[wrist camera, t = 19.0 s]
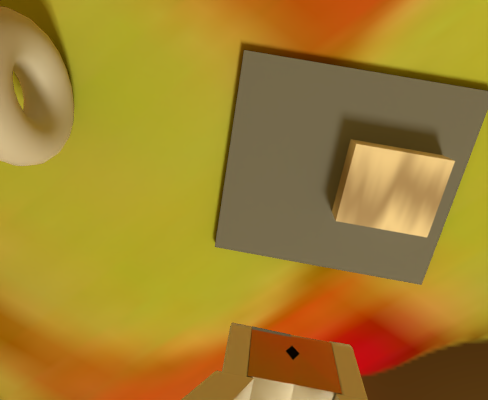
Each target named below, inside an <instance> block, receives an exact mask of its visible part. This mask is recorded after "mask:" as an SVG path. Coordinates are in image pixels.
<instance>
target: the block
mask: <svg viewBox="0 0 488 400" xmlns="http://www.w3.org/2000/svg"><path fill="white" fill-rule="evenodd" d="M454 163H455V161H454V160H452V159H450V158H448V157H445V156H443V155H438V154H433V153H427V152H421V151H415V150H410V149H404V148H398V147H392V146H387V145H381V144H375V143H369V142H364V141H358V140H352V139H351V140H350V144H349V148H348V151H347V155H346V159H345V163H344V167H343V171H342V175H341V178H340V182H339V186H338V190H337V194H336V198H335V201H334V205H333V209H332V214H333V216H334V218H335V221H338V222H344V223H349V224H355V225H360V226H366V227H372V228H377V229H383V230H388V231H394V232H399V233H405V234H410V235H416V236H422V237H428V234H429V231H430V228H431V226H432V223H433V220H434V218H435V215H436V212H437V209H438V207H439V204H440V201H441V198H442V196H443V193H444V190H445V187H446V185H447V182H448V179H449V176H450V174H451V171H452V168H453V165H454Z"/></svg>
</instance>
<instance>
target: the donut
mask: <svg viewBox="0 0 488 400" xmlns="http://www.w3.org/2000/svg"><path fill="white" fill-rule="evenodd" d="M13 70H14V72H15V74H16V76H17V78H18V79H19V82H20V85H21V88H22V91H23V98H24V108H23V110H22V108H21V106H20V105H19V103H18V100H17V97H16V94H15V92H14V86H13V79H12V75H13ZM73 118H74V100H73V92H72V86H71V82H70V79H69V75H68V72H67V69H66V66H65V64H64V62H63V60H62V57H61V55H60V53H59V51H58V50H57V48H56V47H55V45H54V44H53V42H52V41H51V39H50V38H49V36H48V35H47V34H46V33H45V32H44V31H43V30H42V29H41V28H40V27H38V26H37V25H36V24H35V23H34V22H33V21H32V20H31V19H30V18H28V17H26V16H24V15H22V14H20V13H18V12H16V11H14V10H12V9H10V8H7V7H1V6H0V161H3V162H6V163H9V164H12V165H17V166H27V165H36V164H41V163H44V162H46V161H47V160H49V159H50V158H52V157H53V156H55V155H56V154H58V153H59V152H60V151H61V149H62V148H63V146H64V144H65V143H66V141H67V140H68V138H69V136H70V133H71V129H72V125H73Z"/></svg>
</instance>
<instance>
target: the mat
mask: <svg viewBox="0 0 488 400" xmlns="http://www.w3.org/2000/svg"><path fill="white" fill-rule="evenodd" d="M487 110H488V91H485V90H479V89H473V88H467V87H461V86H455V85H449V84H443V83H437V82H431V81H425V80H419V79H413V78H408V77H402V76H396V75H390V74H384V73H378V72H372V71H366V70H360V69H354V68H348V67H342V66H336V65H330V64H325V63H319V62H313V61H307V60H301V59H295V58H289V57H283V56H277V55H271V54H265V53H259V52H253V51H247V50H244V54H243V61H242V68H241V74H240V81H239V88H238V95H237V101H236V108H235V115H234V122H233V128H232V135H231V142H230V149H229V155H228V162H227V169H226V176H225V182H224V189H223V196H222V202H221V209H220V216H219V223H218V229H217V236H216V243H215V247H219V248H224V249H230V250H235V251H240V252H246V253H251V254H257V255H262V256H268V257H273V258H279V259H284V260H289V261H295V262H300V263H306V264H311V265H317V266H322V267H328V268H333V269H338V270H344V271H349V272H355V273H360V274H366V275H371V276H377V277H382V278H387V279H393V280H398V281H404V282H409V283H415V284H420V285H422V282H423V279H424V277H425V274H426V271H427V269H428V266H429V263H430V261H431V258H432V256H433V253H434V250H435V248H436V245H437V242H438V240H439V237H440V234H441V232H442V229H443V226H444V224H445V221H446V218H447V216H448V213H449V211H450V208H451V205H452V203H453V200H454V197H455V195H456V192H457V189H458V187H459V184H460V181H461V179H462V176H463V173H464V171H465V168H466V165H467V163H468V160H469V158H470V155H471V152H472V150H473V147H474V144H475V142H476V139H477V136H478V134H479V131H480V128H481V126H482V123H483V120H484V118H485V115H486V113H487ZM351 139H352V140H358V141H364V142H369V143H375V144H381V145H387V146H392V147H398V148H404V149H410V150H415V151H421V152H427V153H433V154H438V155H443V156H445V157H448V158H450V159H452V160H454V161H455V163H454V165H453V168H452V171H451V174H450V176H449V179H448V182H447V185H446V187H445V190H444V193H443V196H442V198H441V201H440V204H439V207H438V209H437V212H436V215H435V218H434V220H433V223H432V226H431V228H430V231H429V234H428V237H422V236H416V235H410V234H405V233H399V232H394V231H388V230H383V229H377V228H372V227H366V226H360V225H355V224H349V223H344V222H338V221H335V218H334V216H333V214H332V209H333V205H334V201H335V198H336V194H337V190H338V186H339V182H340V178H341V175H342V171H343V167H344V163H345V159H346V155H347V151H348V148H349V144H350V140H351Z"/></svg>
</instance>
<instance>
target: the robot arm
mask: <svg viewBox="0 0 488 400" xmlns="http://www.w3.org/2000/svg"><path fill="white" fill-rule="evenodd" d="M182 400H368V399H367V396H366V392H365V389H364V385H363V382H362V379H361V375H360V372H359V368H358V365H357V362H356V358H355V355H354V351H353V348H352V347H351V346H350V345H349V344H343V343H336V342H327V341H321V340H316V339H310V338H305V337H299V336H294V335H290V334H285V333H280V332H276V331H271V330H266V329H262V328H257V327H252V328H251V326H246V325H241V324H236V323H231V326H230V331H229V337H228V342H227V348H226V353H225V359H224V364H223V370H222V372H220V371H215V372H214V373H213V374H211V375H210V376H209V377H208V378H207V379H206V380H204V381H203V382H202V383H201V384H200V385H198V386H197V387H196V388H195V389H194V390H192V391H191V392H190V393H189V394H188V395H186V396H185V397H184V398H183V399H182Z"/></svg>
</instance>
